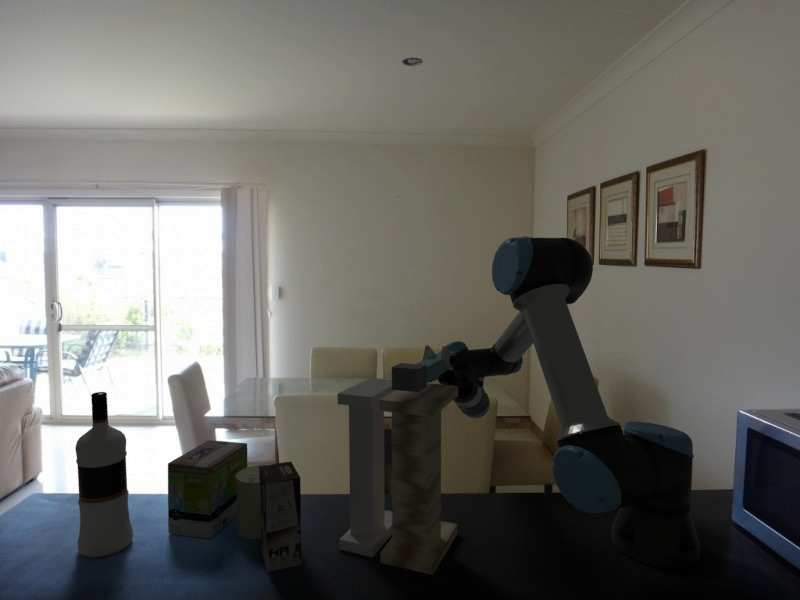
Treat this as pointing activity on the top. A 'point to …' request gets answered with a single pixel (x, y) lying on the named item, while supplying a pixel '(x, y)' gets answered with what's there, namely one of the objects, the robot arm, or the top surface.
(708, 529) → the top surface
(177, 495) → the tea box
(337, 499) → the top surface
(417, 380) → the teal bar
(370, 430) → the stand
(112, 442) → the vodka
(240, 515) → the can
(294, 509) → the coffee box
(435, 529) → the pedestal
